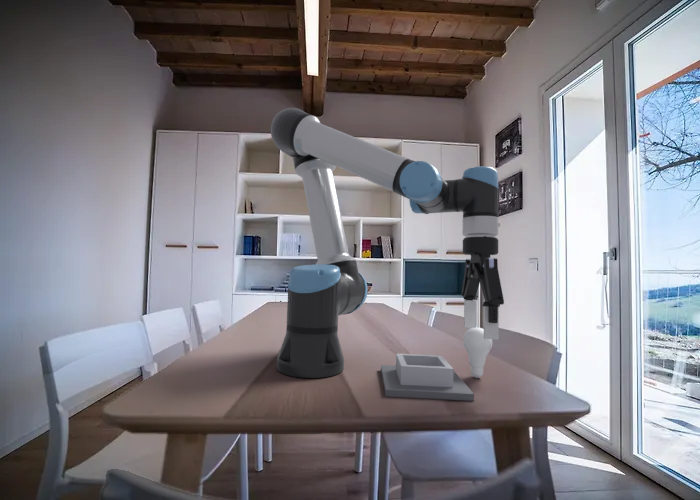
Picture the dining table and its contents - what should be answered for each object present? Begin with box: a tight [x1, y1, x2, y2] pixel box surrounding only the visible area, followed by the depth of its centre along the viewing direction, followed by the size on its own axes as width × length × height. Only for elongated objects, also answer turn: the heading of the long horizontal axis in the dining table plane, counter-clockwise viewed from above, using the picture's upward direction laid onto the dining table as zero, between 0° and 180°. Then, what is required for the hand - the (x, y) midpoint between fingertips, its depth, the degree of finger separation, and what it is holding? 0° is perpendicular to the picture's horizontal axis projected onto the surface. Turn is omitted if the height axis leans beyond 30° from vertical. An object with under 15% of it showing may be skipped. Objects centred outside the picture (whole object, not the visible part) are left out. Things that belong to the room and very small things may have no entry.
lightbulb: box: [462, 326, 493, 379], centre depth 78 cm, size 6×6×11 cm
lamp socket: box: [380, 353, 475, 402], centre depth 72 cm, size 16×16×5 cm
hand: (479, 332), depth 78 cm, fingers open, 13 cm apart
